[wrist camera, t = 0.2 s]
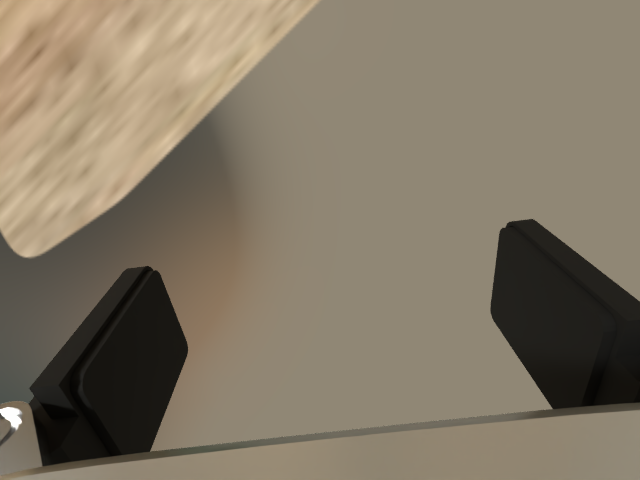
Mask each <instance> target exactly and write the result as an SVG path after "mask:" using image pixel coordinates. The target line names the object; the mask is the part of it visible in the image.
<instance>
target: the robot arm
mask: <svg viewBox="0 0 640 480" xmlns="http://www.w3.org/2000/svg"><path fill="white" fill-rule="evenodd" d="M491 315H492V318H493V320H494V322H495V323H496V325H497V326H498V328H499V329H500V331H501V332H502V334H503V335H504V337H505V338H506V340H507V341H508V343H509V344H510V346H511V347H512V349H513V350H514V352H515V353H516V355H517V356H518V358H519V359H520V361H521V362H522V364H523V365H524V366H525V368H526V370H527V371H528V372H529V374H530V375H531V377H532V378H533V380H534V381H535V383H536V384H537V386H538V387H539V389H540V390H541V392H542V393H543V395H544V396H545V398H546V399H547V401H548V402H549V404H550V405H551V407H552V408H553V409H552V410H539V411H529V412H519V413H510V414H499V415H489V416H479V417H469V418H459V419H449V420H439V421H430V422H420V423H410V424H400V425H391V426H382V427H372V428H363V429H353V430H343V431H334V432H324V433H315V434H306V435H296V436H287V437H278V438H268V439H260V440H250V441H241V442H233V443H224V444H215V445H206V446H197V447H188V448H179V449H170V450H162V451H152V452H150V450H151V448H152V445H153V442H154V440H155V437H156V435H157V432H158V429H159V427H160V424H161V422H162V419H163V416H164V414H165V411H166V409H167V406H168V403H169V401H170V398H171V396H172V393H173V391H174V388H175V385H176V383H177V380H178V378H179V375H180V373H181V370H182V367H183V365H184V362H185V359H186V357H187V353H188V346H187V341H186V339H185V336H184V334H183V331H182V328H181V326H180V323H179V321H178V319H177V316H176V313H175V311H174V308H173V306H172V303H171V301H170V298H169V295H168V293H167V291H166V288H165V285H164V283H163V281H162V278H161V275H160V273H159V272H158V271H156V270H155V271H153V269H152V268H151V267H149V266H145V267H137V268H129V269H126V270H125V271H124V272H123V273H122V274H121V276H120V277H119V278H118V279H117V280H116V282H115V283H114V284H113V286H112V287H111V288H110V289H109V290H108V292H107V293H106V294H105V296H104V297H103V298H102V299H101V300H100V302H99V303H98V304H97V305H96V307H95V308H94V309H93V310H92V311H91V313H90V314H89V315H88V316H87V318H86V319H85V320H84V321H83V323H82V324H81V325H80V326H79V328H78V329H77V330H76V331H75V332H74V334H73V335H72V336H71V337H70V339H69V340H68V341H67V342H66V344H65V345H64V346H63V347H62V349H61V350H60V351H59V352H58V354H57V355H56V356H55V357H54V358H53V360H52V361H51V362H50V363H49V365H48V366H47V367H46V369H45V370H44V371H43V372H42V373H41V375H40V376H39V377H38V378H37V379H36V381H35V382H34V383H33V384H32V386H31V387H30V390H31V392H33V394H34V398H33V399H32V400H31V402H30V403H29V404H28V403H25V402H22V401H11V402H7V403H4V404H0V480H640V301H638V300H637V299H636V298H634V297H633V296H632V295H630V294H629V293H628V292H627V291H625V290H624V289H623V288H621V287H620V286H619V285H617V284H616V283H615V282H613V281H612V280H611V279H610V278H608V277H607V276H606V275H605V274H603V273H602V272H601V271H599V270H598V269H597V268H596V267H594V266H593V265H592V264H591V263H589V262H588V261H587V260H585V259H584V258H583V257H582V256H580V255H579V254H578V253H576V252H575V251H574V250H572V249H571V248H570V247H569V246H567V245H566V244H565V243H563V242H562V241H561V240H560V239H558V238H557V237H556V236H554V235H553V234H552V233H551V232H549V231H548V230H547V229H545V228H544V227H543V226H542V225H540V224H539V223H538V222H536V221H535V220H533V219H529V220H521V221H512V222H509V223H507V226H506V228H502V229H501V230H500V234H499V242H498V250H497V258H496V267H495V275H494V283H493V291H492V299H491Z"/></svg>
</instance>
